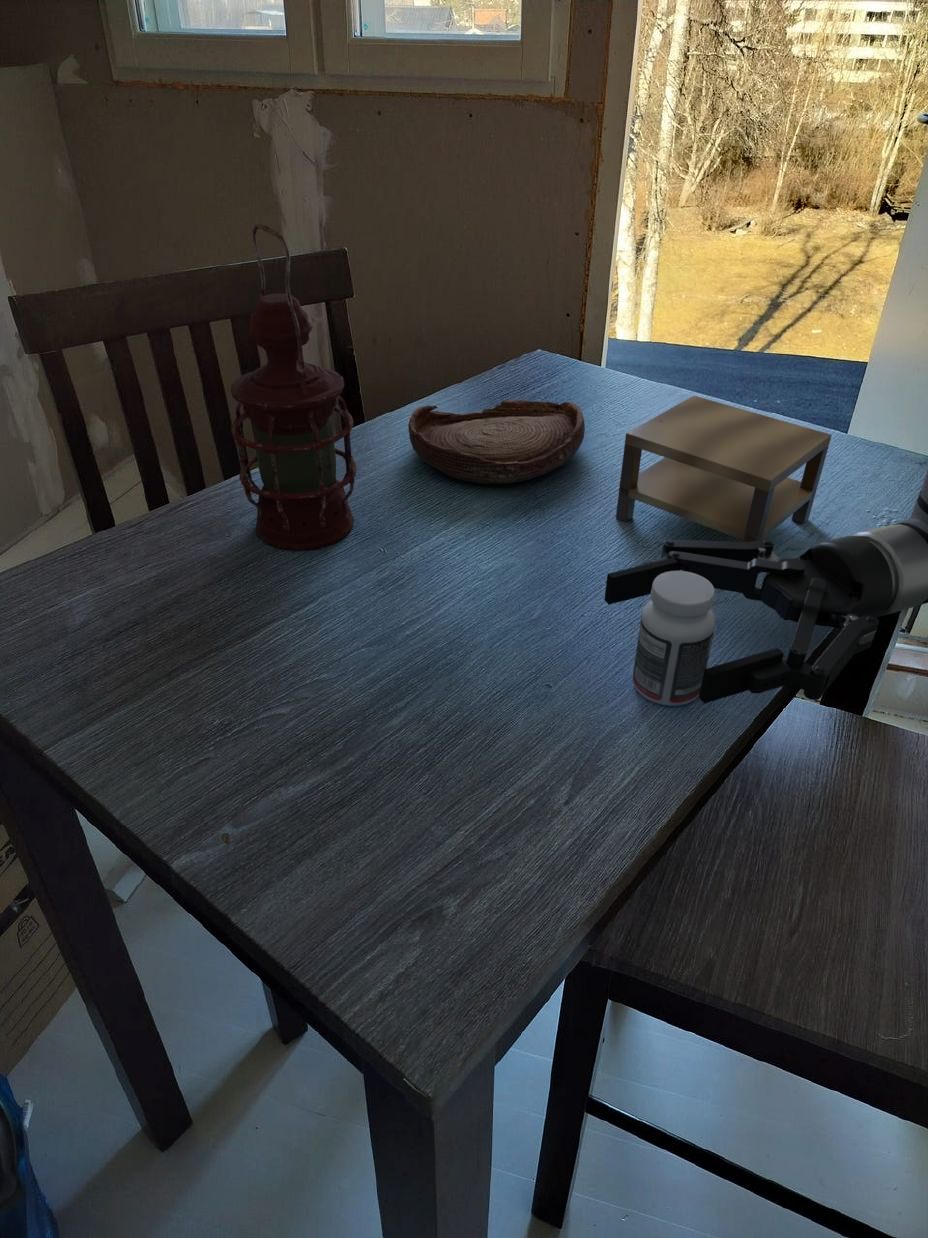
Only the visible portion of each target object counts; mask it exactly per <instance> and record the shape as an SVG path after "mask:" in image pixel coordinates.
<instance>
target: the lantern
mask: <svg viewBox="0 0 928 1238" xmlns="http://www.w3.org/2000/svg"><path fill="white" fill-rule="evenodd" d="M258 229H259V230H262V231H264V232H266V233H267V234H270V235H272V236H274V237H276V238H277V239H278V240H279V241H280V243H281V246H282V248H283V250H284V253H285V274H284V275H285V276H284V277H285V278H284V288H285V293H271V294H267V295H265V294H266V277H265V269H264V265H263V260H262V257H261V254H260V250H259V246H258V241H257V231H258ZM251 238H252V245H253V248H254V249H253V250H254V253H255V257H256V260H257V264H258V268H259V272H260V285H261V286H260V287H261V288H260V298H259V299H258V301H257V302H256V304H255V310H254V311H253V313H252V314H251V315H250V326H249V328H248V332H249V334H250V336H252V337H253V340H254V342H255V345H256V346H258V347H260V348H262V349H263V350H264V351H265V355H266V360H267V362H266V364H265V365H262V366H260V367H258V368H256V369H254V370H252V371H249V372H245V373H244V374H242V375H241V376H239V377H238V378H236V379H235V380H234V382H232V384H231V385H230V394H231V396H232V398H233V399H234V400H235V401H236V402H237V405H236V407H235V419H234V420H233V422H232V424H231V428H230V429H231V430H230V431H231V434H232V437H233V438H234V440H235V441H236V445H237V450H238V456H239V461H240V462H239V463H240V470H239V473H238V474H239V475H238V478H239V481H240V484H241V485H242V486H243V490H244V493H245V497H246V499H247V500H248V502H249V503H250V504H252V505H253V506H255V508H256V509H257V511H256V513H257V514H256V522H255V532H256V534H257V536H258V538H259V539H260V540H261V541H262V542H264V543H265V544H267V545H269V546H271V547H273V548H278V549H281V550H286V551H305V550H317V549H322V548H324V547H328V546H332V545H334V544H336V543H337V542H339V541H340V540H343V539H344V538H345V537H346V536H348V535H349V534H350V533H351V530H352V529H353V527H354V523H355V519H354V515H353V513H352V511H351V507H350V506H349V502H348V500H349V498H350V497H351V495H352V494H353V493H354V489H355V485H354V484H355V477H356V476H357V469H358V468H357V462H356V460H355V458H354V457H353V455H352V446H351V444H352V443H351V433H352V430H353V426H354V419H353V417H352V415H351V413H350V411H349V410H348V408H347V403H346V401H345V399H344V397H342V395H341V394H342V392H343V389H344V387H345V381H344V377H343V376H341V374H339V372H337V371H335V370H333V369H330V368H327V367H323V366H319V365H315V364H312V363H309V362H305V361H304V352H303V346H305V345H307V344H308V342H309V341H310V333H311V332H312V330H313V325H312V323H311V321H309V314H308V313H307V312H306V310H305V309H303V308H302V306H301V303H300V301H299V300H298V299H297V298H296V297H295V296H294V295H292V294H291V288H290V275H291V274H290V273H291V255H290V253H291V252H290V249H289V246H288V244H287V242H286V240H285V238H284V236H283V235H282V234H281V233H279V232H278V231H276V230H275V229H273V228H272V227H269V226H267V225H264V224H261V223H257V224H255V225H254V226H253V229H252V230H251ZM337 399H338V400H337ZM338 401H339V402H340V404H339V405H337V403H338ZM241 407H242V411H243V413H242V411H241ZM334 412H336V413H339V414H340V415H341V420H342V430H341V431H340V432H338V433H337V434H335V435H334V431H333V423H332V415H333V413H334ZM247 419H249V420H250V421H251V422H252V429H253V436H254V442H253V441H251V440H249V439H247V438H245V435H244V428H243V427H244V421H245V420H247ZM341 439H343V444H344V451H343V450H341V449H339V448H336V447H335V443H337V442H338V441H340V440H341ZM247 447H248V448H251V449H253V450H255V453H256V455H254V456H252V457H251V458H248V452H247V451H248V450H247ZM337 455H338V456H339V457H341V458H342V459H343V460H344V463H345V474H344V476H343V477H342V480H341V481H339V480H338V479H337ZM255 463H257V468H258V472H259V475H260V479H261V482H262V484H263V485H262V487H261V488H259V486H258V485H257V484H256V483H255V482H254V480H253V478H252V472H251V469H250V468H251V467H252V466H253V465H254V464H255ZM348 484H349V490H348V492H347V494H346V491H345V488H344V487H346V486H348ZM252 493H253V494H255V495H257V496H258V499H257V502H256V501H255V500H254V499H253V498H252Z"/></svg>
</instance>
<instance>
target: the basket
mask: <svg viewBox="0 0 928 1238" xmlns="http://www.w3.org/2000/svg"><path fill="white" fill-rule="evenodd" d="M500 402H501V403H500V404H496V405H495V406H494V407H493V408H483V410H482V412H479V411H477V412H476V411H475V412H468V413H452V412H445V411H438V410H436V409H438V406H436V405H429V404H428V405H424V406H420V407H417V408H416V409H415V410H413V412H412V414H411V416H410V417H409V421H408V435H409V442H410V444H411V447H412V449H413V451H414V452H415V453H416V454H417V455H418V457H419V458H420V459H421V460H422V461H423V462H424V463H426V464H428V465H429V466H431V467H433V468H434V469H436V470H438V471H440V472H441V473H444V474H445V475H447V476H449V477H452V478H455V479H458V480H461V481H464V482H465V481H466V482H472V483H476V484H484V485H485V484H486V485H487V484H488V485H489V484H490V485H492V484H511V483H517V482H524V481H528V480H532V479H534V478H538V477H541V476H543V475H545V474H548V473H550V472H553V471H554V470H556V469H558V468H560V467H562V466H564V464H566V463H567V462H568V461H570V460H571V459H572V457H574V456H575V454H576V453H577V452H578V450H579V449H580V447H581V446H582V443H583V441H584V438H585V433H586V431H585V430H586V428H585V427H586V426H585V418H584V414H583V411H582V408H580V407H579V406H578V405H577V403H576V404H575V403H574V402H573V401H563V402H561V403H558V401H557V402H551V401H536V400H535V401H534V400H530V401H529V400H521V399H520V400H519V399H514V400H503V401H500ZM435 410H436V411H435Z"/></svg>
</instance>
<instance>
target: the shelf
mask: <svg viewBox="0 0 928 1238" xmlns="http://www.w3.org/2000/svg"><path fill="white" fill-rule="evenodd" d="M832 436H833V435H832V434H831V433H827V432H824V431H820V430H816V429H813V428H810V427H807V426H803V425H798V424H795V423H792V422H788V421H786V420H782V419H778V418H775V417H771V416H767V415H764V414H761V413H757V412H754V411H750V410H747V409H742V408H740V407H736V406H732V405H728V404H725V403H722V402H719V401H715V400H711V399H708V398H704V397H700V396H697V395H692V396H690V397H689V398H687V399H685V400H683V401H682V402H680V403H678V404H676V405H674V406H673V407H671V408H668V409H667V410H665V411H663V412H662V413H660V414H658V415H657V416H654V417H653V418H651V419H649V420H647V421H645V422H644V423H642V424H640V425H638V426H637V427H635V428H633V429H631V430H629V431H628V432H626V433H625V439H624V445H623V446H624V447H623V449H624V450H623V456H622V464H621V472H620V478H619V479H620V480H619V487H618V496H617V503H616V510H615V511H616V512H615V518H616V519H617V520H620V521H623V522H624V523H627V522H628V521H630V520H631V519H633V517H634V511H635V505H636V504H635V503H636V501H638V502H640V503H643V504H645V505H648V506H651V507H654V508H656V509H659V510H662V511H664V512H667V513H670V514H672V515H675V516H678V517H681V518H682V519H685V520H689V521H691V522H693V523H696V524H699V525H702V526H704V527H706V528H709V529H712V530H715V531H718V532H719V533H723V534H726V535H729V536H731V537H734V538H736V539H738V540H742V542H752V541H759V540H764V539H765V538H766V537H767V536H768V535H770V534H771V533H772V532H773V531H774V530H775V529H777V528H778V527H779V526H780V525H782V523H784V522H785V521H786V520H787V519H788V518H790V517H791V521H794V522H797V523H800V524H802V525H803V524H805V523H806V522H807V521H808V520H810V516H811V511H812V509H813V506H814V505H813V504H814V500H815V496H816V494H817V490H818V487H819V483H820V479H821V476H822V472H823V468H824V464H825V461H826V458H827V454H828V450H829V447H830V444H831V440H832ZM643 451H645V452H648V453H651V454H654V455H657V456H660V457H663V458H661V459H660V460H659V461H657V462H655V463H654V464H652V465H650V466H649V467H647V468H646V469H643V470H642V471H641V472H640V467H641V460H642V452H643ZM804 465H805V466H804ZM803 466H804V470H803V474H802V477H801V481H800V480H796V479H794V478H791V477H789V476H791V475H792V474H794V473H795V472H796V471H798V470H799V469H800V468H801V467H803Z"/></svg>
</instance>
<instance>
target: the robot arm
mask: <svg viewBox="0 0 928 1238" xmlns="http://www.w3.org/2000/svg"><path fill="white" fill-rule="evenodd" d="M774 547H775V542H774V541H772V540H770V539H762V540H759V541H752V542H743V541H724V540H723V541H722V540H721V541H719V540H692V539H691V540H690V539H665V540H663V542H662V548H661V555H660V558H656V559H652V560H649V561H644V562H640V563H638V564H637V563H636V564H635V566H634V567H629V568H624V569H621V570H618V571H612V572H609V573H607V576H606V581H605V591H604V599H603V600H604V601H605V603H607V605H609V606H610V605H614V604H618V603H621V602H625V601H629V600H634V599H637V598H640V597H645V596H649V595H651V589H652V585H653V581H654V580H655V578H656V577H657V576H659V575H660V574H662V573H665V572H670V571H686V572H691V573H695V574H698V575H700V576H702V577H704V578H705V579H707V580H708V581H709V582H710V583H711V584H712V585H713V587H714V590H715V589H716V590H721V591H727V592H735V593H740V594H742V595H743V596H744V598H746V599H747V600H751V601H758V602H762V604H763V605H765V606H766V607H769V608H770V609H772V610H774V611H775V613H776V614H777V615H778V617H780V618H781V619H782V620H784V621H790V622H793V623H797V625H796V628H795V631H794V634H793V636H792V640H791V644H790V646H789V649H788V653H787V656H786V658H785V659H784V655H785V652H783V651H782V650H781V649H779V647H775V648H771V649H768V650H765V651H762V652H759V653H755V654H751V655H748V656H745V657H741V658H738V659H735V660H731V661H727V662H725V663H721V664H717V665H714V666H711V667H707V668H706V669H705V670H704V675H703V679H702V684H701V688H700V693H699V696H698V699H699V700H700V701H701V702H702V703H703V704H704V705H706V704H709V703H711V702H715V701H719V700H721V699H725V698H727V697H731V696H734V695H737V694H740V693H741V694H742V693H743V692H747V691H749V692H750V693H751V694H763V693H766V692H769V691H771V690H776V689H778V688H782V687H787V688H796V687H797V688H799V689H800V690H803V696H804V697H805V698H806V699H809V700H811V701H818V700H820V699H821V698H822V697H823V695H824V694H825V692H826V691H827V690H828V689H829V688H830V686H832V683H833V682H834V681H835V680H836V679H837V677H838V676H839V674H841V672H842V671H843V670H844V668H845V667H846V666H847V665H848V663H849V662H850V661H851V660H852V658H853V657H854V656H855V655H856V654H858V653H861V652H863V651H865V650H868V649H870V648H871V646H872V643H873V640H874V638H875V635H876V633H877V631H878V626H879V624H880V619H879V618H880V617H886V616H888V615H891V614H895V613H898V612H902V611H905V610H909V609H913V608H915V607H918V606H922V605H925V604H928V469H927V471H926V473H925V476H924V481H923V482H922V485H921V489H920V491H919V494H918V497H917V499H916V501H915V504H914V507H913V510H912V512H911V514H910V517H909V519H907V520H904V521H899V522H897V523H892V524H889V525H884V526H881V527H876V528H872V529H868V530H864V531H859V532H856V533H854V534H852V535H846V536H842V537H838V538H833V539H830V540H825V541H821V542H819V543H816V544H814V545H812V546H811V547H810V548H808V549H807V550H806V551H805V552H804V553H803V554H801V555H800V556H798V557H793V558H790V557H789V558H787V557H779V556H778V555H777V554H776V553H775V552H774ZM760 573H766V574H765V576H764V577H763V579H762V584H761V586H760V588H759V587H756V584H757V580H758V575H759V574H760ZM815 626H820V627H827V628H834V629H841V630H840V632H839V633H838V634H837V636H836V637H835V638H834V639H833V640H832V641H831V642H830V643H829V645H828V646H827V648H826V649H825V650H824V651H823V652H822V654H821V655H820V656H818V658H817V659H816V661H815V662H814V663H813V664H812V665H811V664H809V663H807V662H805V660H806V657H807V654H808V649H809V646H810V643H811V640H812V635H813V632H814V629H815Z"/></svg>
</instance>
